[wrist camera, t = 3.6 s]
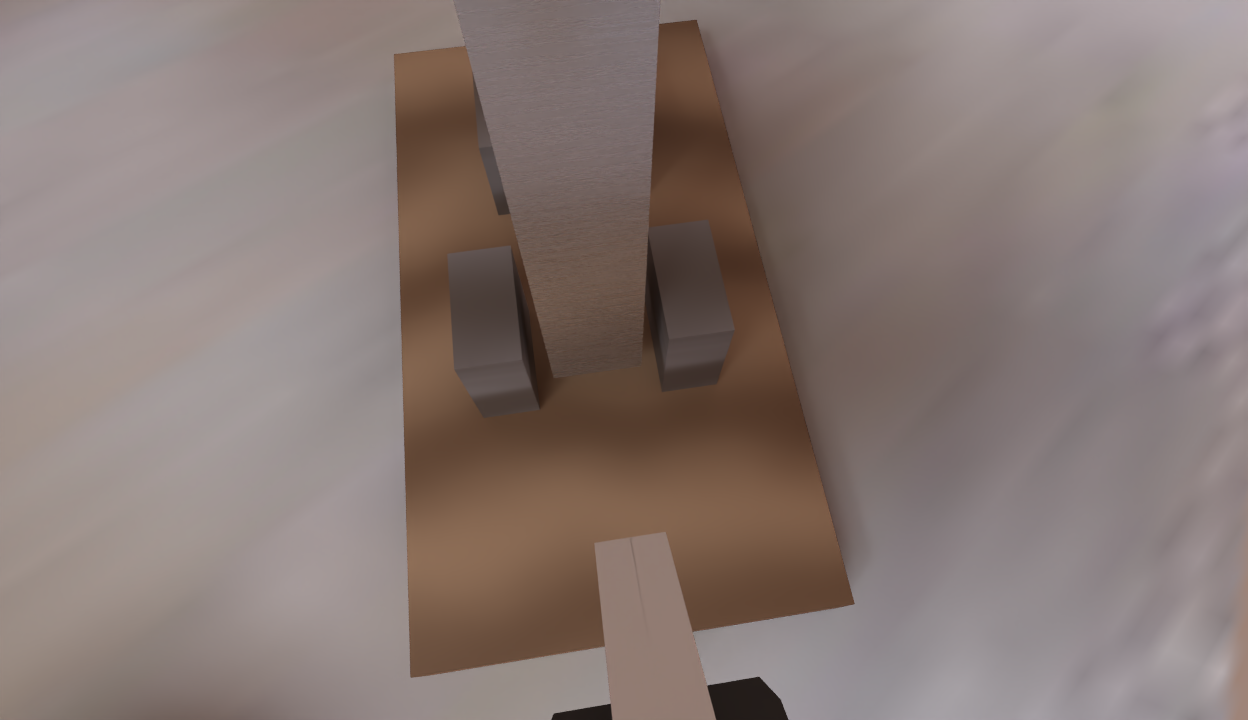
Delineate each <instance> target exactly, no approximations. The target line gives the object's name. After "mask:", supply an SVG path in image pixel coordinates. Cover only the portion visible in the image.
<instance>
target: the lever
mask: <svg viewBox="0 0 1248 720" xmlns="http://www.w3.org/2000/svg"><path fill="white" fill-rule="evenodd" d="M454 4H455V7H456V11H457V15H458V19H459V22H460V26H461V30H462V34H463V38H464V41H465V45H466V49H467V53H468V56H469V60H470V64H471V68H472V72H473V75H474V79H475V83H476V87H477V90H478V94H479V98H480V102H481V105H482V109H483V113H484V117H485V121H486V124H487V128H488V132H489V136H490V139H491V143H492V147H493V151H494V155H495V158H496V162H497V166H498V170H499V173H500V177H501V181H502V185H503V188H504V192H505V196H506V200H507V204H508V207H509V211H510V215H511V219H512V222H513V226H514V230H515V234H516V238H517V241H518V245H519V249H520V253H521V256H522V260H523V264H524V268H525V271H526V275H527V279H528V283H529V287H530V290H531V294H532V298H533V302H534V305H535V309H536V313H537V317H538V321H539V324H540V328H541V332H542V336H543V339H544V343H545V347H546V351H547V354H548V358H549V362H550V366H551V370H552V373H553V377H554V378H561V377H568V376H575V375H582V374H589V373H596V372H603V371H610V370H617V369H624V368H631V367H638V366H641V362H642V343H643V323H644V304H645V285H646V265H647V246H648V227H649V207H650V188H651V169H652V149H653V130H654V111H655V91H656V72H657V53H658V33H659V14H660V0H454Z"/></svg>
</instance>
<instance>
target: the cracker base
mask: <svg viewBox="0 0 1248 720" xmlns="http://www.w3.org/2000/svg"><path fill="white" fill-rule="evenodd" d="M394 68H395V106H396V144H397V182H398V220H399V258H400V295H401V333H402V371H403V409H404V447H405V485H406V522H407V560H408V598H409V636H410V674H411V678H412V677H421V676H429V675H435V674H441V673H447V672H453V671H459V670H465V669H471V668H477V667H483V666H489V665H495V664H501V663H507V662H513V661H519V660H525V659H531V658H538V657H544V656H550V655H556V654H562V653H568V652H574V651H580V650H586V649H592V648H598V647H604V646H605V642H604V632H603V623H602V613H601V603H600V594H599V584H598V574H597V564H596V555H595V545H594V543H597V542H604V541H610V540H616V539H623V538H629V537H636V536H642V535H648V534H655V533H661V532H666V535H667V539H668V543H669V546H670V550H671V554H672V557H673V561H674V565H675V569H676V572H677V576H678V580H679V583H680V587H681V591H682V595H683V598H684V602H685V606H686V610H687V613H688V617H689V621H690V624H691V628H692V632H694V631H700V630H706V629H712V628H718V627H725V626H731V625H737V624H743V623H749V622H755V621H761V620H767V619H773V618H779V617H785V616H791V615H797V614H803V613H809V612H815V611H821V610H827V609H833V608H839V607H843V606H848V605H853V604H855V603H854V600H853V596H852V592H851V589H850V585H849V581H848V578H847V574H846V570H845V567H844V563H843V559H842V555H841V552H840V548H839V544H838V541H837V537H836V533H835V530H834V526H833V522H832V518H831V515H830V511H829V507H828V504H827V500H826V496H825V493H824V489H823V485H822V482H821V478H820V474H819V470H818V467H817V463H816V459H815V456H814V452H813V448H812V445H811V441H810V437H809V434H808V430H807V426H806V422H805V419H804V415H803V411H802V408H801V404H800V400H799V397H798V393H797V389H796V385H795V382H794V378H793V374H792V371H791V367H790V363H789V360H788V356H787V352H786V349H785V345H784V341H783V337H782V334H781V330H780V326H779V323H778V319H777V315H776V312H775V308H774V304H773V300H772V297H771V293H770V289H769V286H768V282H767V278H766V275H765V271H764V267H763V264H762V260H761V256H760V252H759V249H758V245H757V241H756V238H755V234H754V230H753V227H752V223H751V219H750V215H749V212H748V208H747V204H746V201H745V197H744V193H743V190H742V186H741V182H740V179H739V175H738V171H737V167H736V164H735V160H734V156H733V153H732V149H731V145H730V142H729V138H728V134H727V130H726V127H725V123H724V119H723V116H722V112H721V108H720V105H719V101H718V97H717V94H716V90H715V86H714V82H713V79H712V75H711V71H710V68H709V64H708V60H707V57H706V53H705V49H704V45H703V42H702V38H701V34H700V31H699V27H698V23H697V20H691V21H682V22H673V23H665V24H659V33H658V53H657V72H656V91H655V111H654V130H653V149H652V169H651V188H650V207H649V227H648V246H647V265H646V285H645V304H644V323H643V343H642V362H641V366H638V367H631V368H624V369H617V370H610V371H603V372H596V373H589V374H582V375H575V376H568V377H561V378H554V377H553V373H552V370H551V366H550V362H549V358H548V354H547V351H546V347H545V343H544V339H543V336H542V332H541V328H540V324H539V321H538V317H537V313H536V309H535V305H534V302H533V298H532V294H531V290H530V287H529V283H528V279H527V275H526V271H525V268H524V264H523V260H522V256H521V253H520V249H519V245H518V241H517V238H516V234H515V230H514V226H513V222H512V219H511V215H510V211H509V207H508V204H507V200H506V196H505V192H504V188H503V185H502V181H501V177H500V173H499V170H498V166H497V162H496V158H495V155H494V151H493V147H492V143H491V139H490V136H489V132H488V128H487V124H486V121H485V117H484V113H483V109H482V105H481V102H480V98H479V94H478V90H477V87H476V83H475V79H474V75H473V72H472V68H471V64H470V60H469V56H468V53H467V49H466V46H463V47H454V48H445V49H437V50H428V51H419V52H410V53H401V54H394Z"/></svg>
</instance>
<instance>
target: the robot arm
mask: <svg viewBox="0 0 1248 720" xmlns="http://www.w3.org/2000/svg"><path fill="white" fill-rule="evenodd" d="M594 545H595V555H596V564H597V574H598V584H599V594H600V603H601V613H602V623H603V632H604V642H605V652H606V662H607V671H608V681H609V691H610V700H611V704H607V705H602V706H596V707H590V708H584V709H578V710H572V711H566V712H561V713H555V714H554V715H553V717H552V720H788V717H787V715H786V712H785V710H784V707H783V704H782V702H781V700H780V698H779V697H778V696H777V695H776V694H775V693H774V692H773V691H772V690H771V689H770V688H769V687H768V686H767V685H766V683H765V682H764V681H763V680H762V679H761V678H760V677H755V678H749V679H743V680H737V681H731V682H726V683H720V684H714V685H708V686H707V684H706V680H705V677H704V673H703V669H702V665H701V662H700V658H699V654H698V651H697V647H696V643H695V639H694V636H693V632H692V628H691V624H690V621H689V617H688V613H687V610H686V606H685V602H684V598H683V595H682V591H681V587H680V583H679V580H678V576H677V572H676V569H675V565H674V561H673V557H672V554H671V550H670V546H669V543H668V539H667V535H666V532H661V533H655V534H648V535H642V536H636V537H629V538H623V539H616V540H610V541H604V542H597V543H594Z"/></svg>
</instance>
